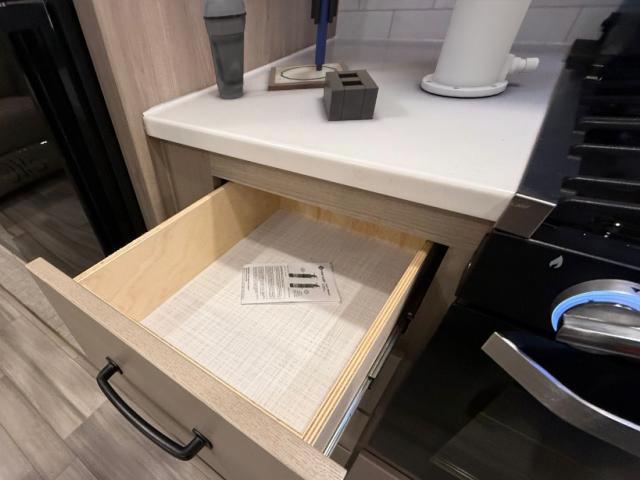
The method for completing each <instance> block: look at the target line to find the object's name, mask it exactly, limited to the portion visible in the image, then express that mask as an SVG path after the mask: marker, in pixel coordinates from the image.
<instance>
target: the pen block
mask: <svg viewBox="0 0 640 480" xmlns="http://www.w3.org/2000/svg"><path fill="white" fill-rule="evenodd" d="M379 89H380V87H379V86H378V84H377V83H376V82H375V80H374V79H373V77H372V76H371V74H370V73H369V72H368V71H367V69H366V68H365V69H351V70H350V69H348V71H333V72H326V74H325V84H324V87H323V94H322V100H323V104H324V108H325V113H326V116H327V120H328V121H329V122H331V121H332V122H333V121H334V122H335V121H354V120H355V121H356V120H372V119H373V118H374V114H375V109H376V104H377V99H378V95H379V94H378V93H379Z"/></svg>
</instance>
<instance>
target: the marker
mask: <svg viewBox="0 0 640 480" xmlns="http://www.w3.org/2000/svg"><path fill="white" fill-rule="evenodd" d="M329 7H330V0H320V10H319V23H318V24H317V26H316V39H315V52H314V53H315V54H314V64H315V65H316V70H317V71H320V70H322V65H323V64H325V62H326V52H327V40H328V39H327V38H328V30H329V29H328V28H329V23H328V18H329Z"/></svg>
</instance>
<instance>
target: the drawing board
mask: <svg viewBox="0 0 640 480" xmlns="http://www.w3.org/2000/svg"><path fill="white" fill-rule="evenodd" d="M348 70H349V68H348V67H347V65H346V63H345V62H343V61H342V62H327V63H324V64H323V65H322V70H320V71H317V70H316V65H315V63H313V64H312V63H311V64H295V65H281V66H271V67H270V71H269V78H268V85H267V90H268V91H285V90H304V89H319V88H324V84H325V74H326V72H333V71H348Z"/></svg>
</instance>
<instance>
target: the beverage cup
mask: <svg viewBox="0 0 640 480" xmlns="http://www.w3.org/2000/svg"><path fill="white" fill-rule="evenodd" d="M246 17H247V9H246V5H245V0H204V3H203V17H202V19H203V20H204V26H205V30H206V34H207V36H208V40H209V41H208V42H209V46H210V47H209V48H210V52H211V58H212V63H213V70H214V74H215V80H216V86H217V89H218V95H219V98H220V99H222V100H233V99H239V98H241V97H242V96H244V83H245V82H244V80H245V78H244V75H245V73H244V71H245V69H244V68H245V31H246V23H247V18H246Z"/></svg>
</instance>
